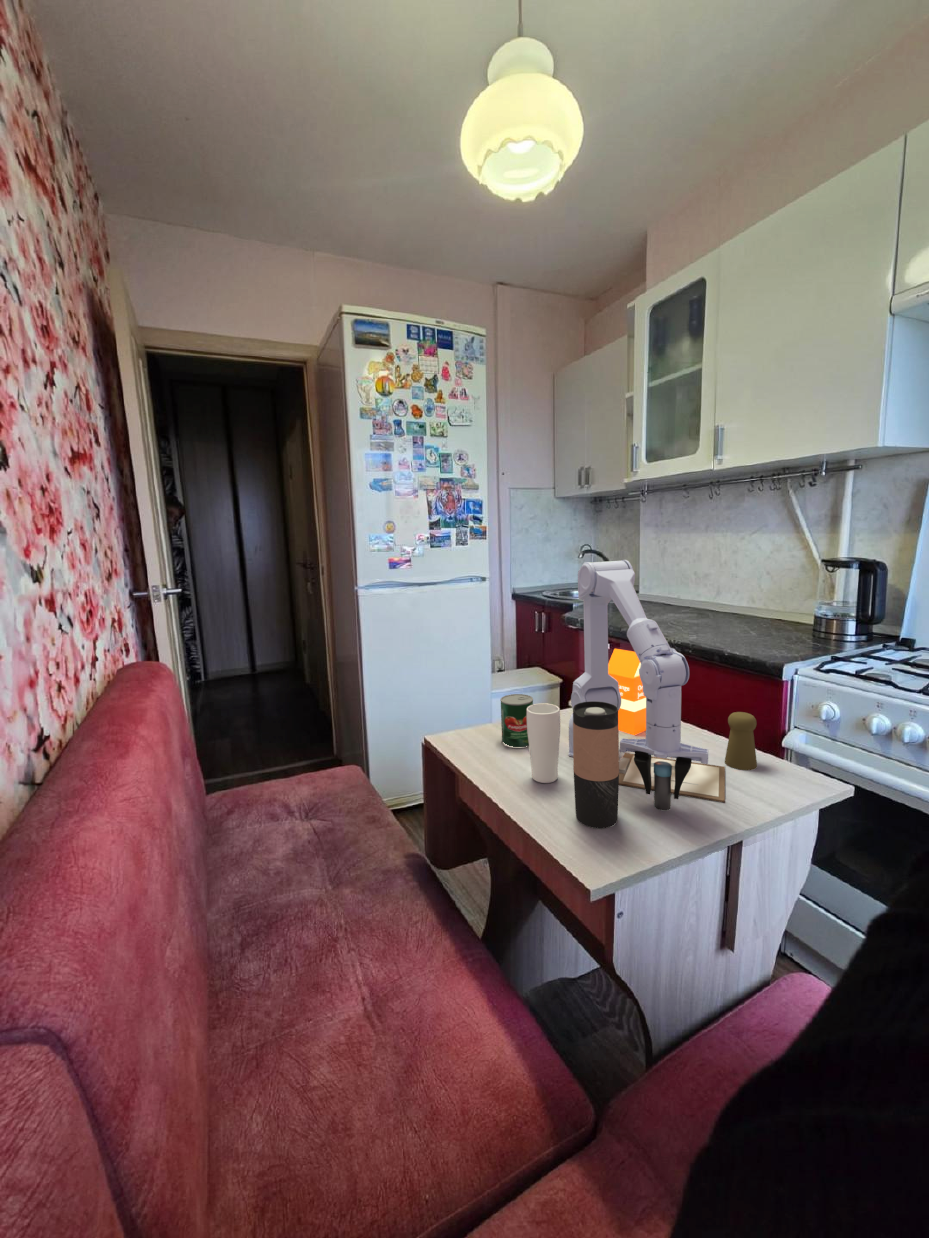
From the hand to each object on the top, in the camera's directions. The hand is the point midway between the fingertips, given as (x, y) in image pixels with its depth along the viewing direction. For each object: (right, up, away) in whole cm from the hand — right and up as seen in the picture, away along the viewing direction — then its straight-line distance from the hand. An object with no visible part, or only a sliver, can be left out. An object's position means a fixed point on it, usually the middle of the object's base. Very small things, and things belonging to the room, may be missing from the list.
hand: (662, 794), depth 91 cm
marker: (0, -2, 0) cm, 2 cm away
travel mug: (-12, -4, -2) cm, 13 cm away
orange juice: (+7, +4, +39) cm, 40 cm away
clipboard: (+6, 0, +12) cm, 13 cm away
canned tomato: (-22, +1, +33) cm, 40 cm away
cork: (+23, +1, +16) cm, 27 cm away
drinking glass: (-19, -2, +13) cm, 23 cm away
